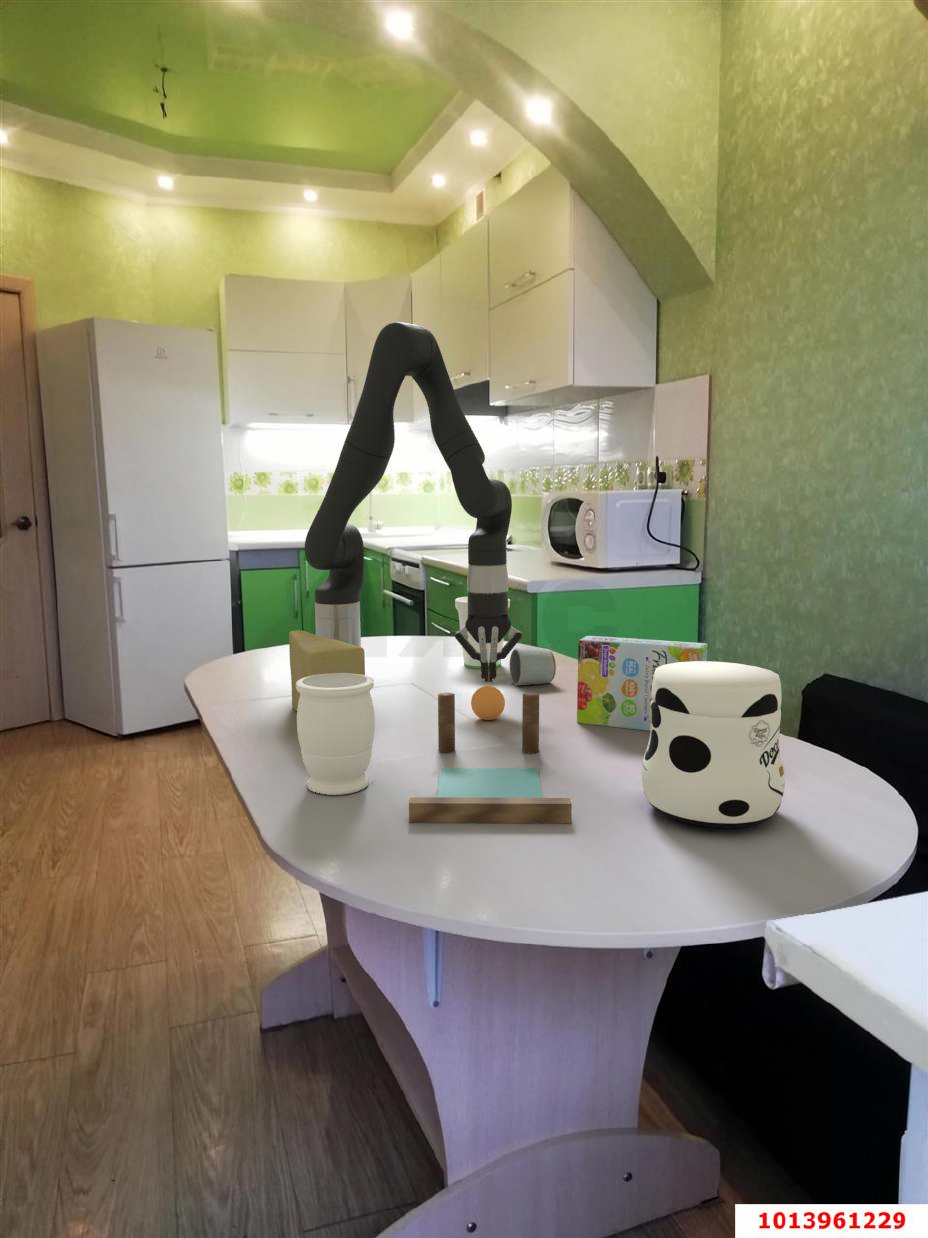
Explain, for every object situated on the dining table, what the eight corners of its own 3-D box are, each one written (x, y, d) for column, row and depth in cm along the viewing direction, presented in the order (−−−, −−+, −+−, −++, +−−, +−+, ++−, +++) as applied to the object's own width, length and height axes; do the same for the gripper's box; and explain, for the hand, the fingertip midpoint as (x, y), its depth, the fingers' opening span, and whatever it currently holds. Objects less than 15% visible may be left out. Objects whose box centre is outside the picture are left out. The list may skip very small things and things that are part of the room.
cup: (447, 668, 195) (446, 601, 192) (467, 658, 206) (467, 594, 204) (498, 672, 190) (499, 604, 188) (516, 662, 201) (517, 597, 199)
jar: (388, 778, 123) (386, 674, 120) (355, 803, 113) (353, 691, 111) (321, 770, 126) (318, 669, 124) (284, 794, 116) (280, 685, 114)
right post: (522, 753, 133) (522, 696, 132) (521, 748, 136) (522, 692, 135) (539, 753, 133) (539, 696, 132) (538, 748, 136) (538, 692, 135)
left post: (438, 753, 134) (437, 696, 132) (438, 748, 136) (438, 692, 135) (454, 753, 134) (454, 696, 132) (455, 748, 136) (454, 692, 135)
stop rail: (409, 822, 106) (408, 803, 106) (410, 816, 108) (410, 797, 108) (571, 823, 106) (571, 803, 106) (569, 817, 108) (570, 798, 108)
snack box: (705, 729, 146) (708, 642, 144) (699, 738, 141) (703, 648, 139) (584, 716, 155) (586, 633, 153) (575, 723, 150) (576, 638, 148)
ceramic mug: (558, 686, 177) (558, 649, 176) (520, 689, 175) (520, 651, 174) (539, 676, 187) (539, 641, 186) (503, 679, 185) (503, 643, 184)
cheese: (270, 710, 160) (267, 631, 157) (319, 703, 164) (317, 626, 162) (313, 740, 141) (310, 650, 138) (368, 732, 146) (366, 644, 143)
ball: (470, 724, 150) (470, 690, 149) (471, 714, 156) (471, 682, 155) (505, 724, 150) (505, 690, 149) (504, 715, 156) (504, 682, 155)
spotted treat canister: (813, 830, 104) (822, 684, 101) (685, 847, 99) (691, 694, 96) (730, 782, 120) (736, 656, 117) (617, 795, 115) (620, 664, 112)
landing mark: (435, 804, 112) (435, 803, 112) (441, 769, 126) (441, 768, 126) (543, 805, 112) (543, 803, 112) (536, 769, 126) (536, 768, 126)
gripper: (450, 591, 155) (452, 686, 157) (524, 590, 154) (525, 685, 157) (452, 587, 162) (454, 677, 165) (522, 586, 162) (523, 676, 164)
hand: (488, 681), depth 161 cm, fingers closed
